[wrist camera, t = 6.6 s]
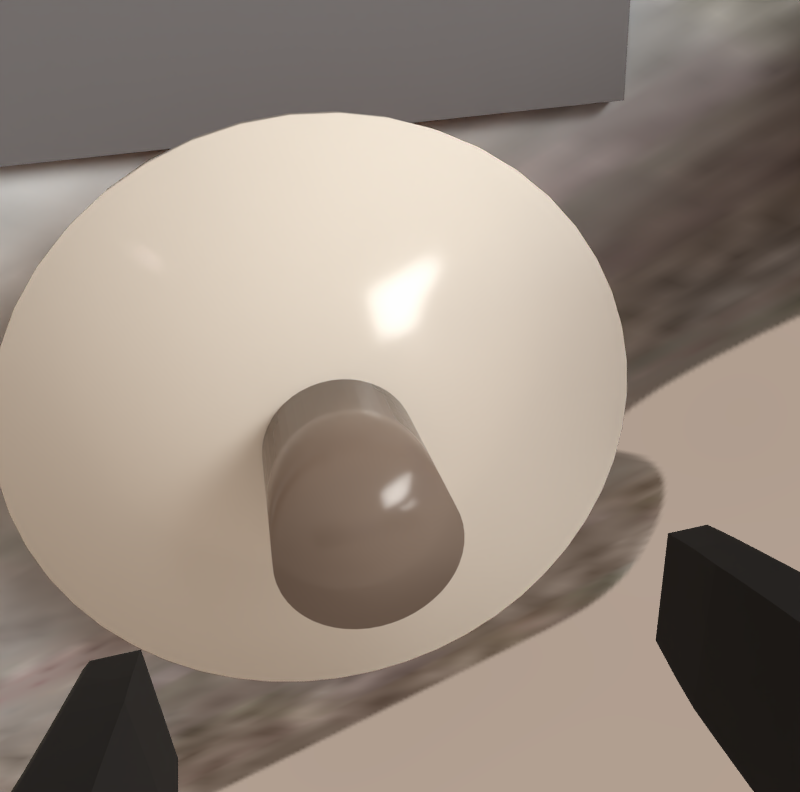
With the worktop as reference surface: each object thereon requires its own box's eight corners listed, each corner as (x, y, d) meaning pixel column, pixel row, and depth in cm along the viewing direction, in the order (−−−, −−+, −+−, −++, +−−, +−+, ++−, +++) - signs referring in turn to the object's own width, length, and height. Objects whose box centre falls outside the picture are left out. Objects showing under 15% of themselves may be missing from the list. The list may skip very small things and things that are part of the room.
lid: (631, 75, 13) (784, 80, 10) (601, 597, 19) (689, 722, 15) (-120, 158, 11) (-285, 204, 7) (106, 716, 17) (74, 893, 13)
